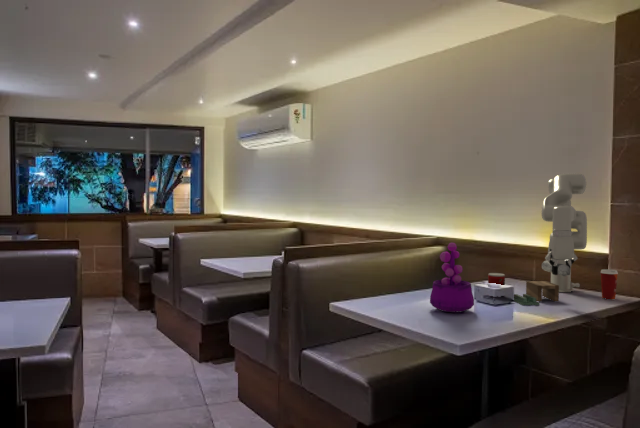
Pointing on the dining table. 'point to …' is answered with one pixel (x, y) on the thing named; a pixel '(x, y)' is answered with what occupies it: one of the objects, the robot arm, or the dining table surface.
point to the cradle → (525, 299)
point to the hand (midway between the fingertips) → (560, 274)
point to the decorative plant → (451, 286)
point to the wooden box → (542, 290)
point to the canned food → (496, 278)
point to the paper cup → (608, 283)
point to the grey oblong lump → (562, 268)
